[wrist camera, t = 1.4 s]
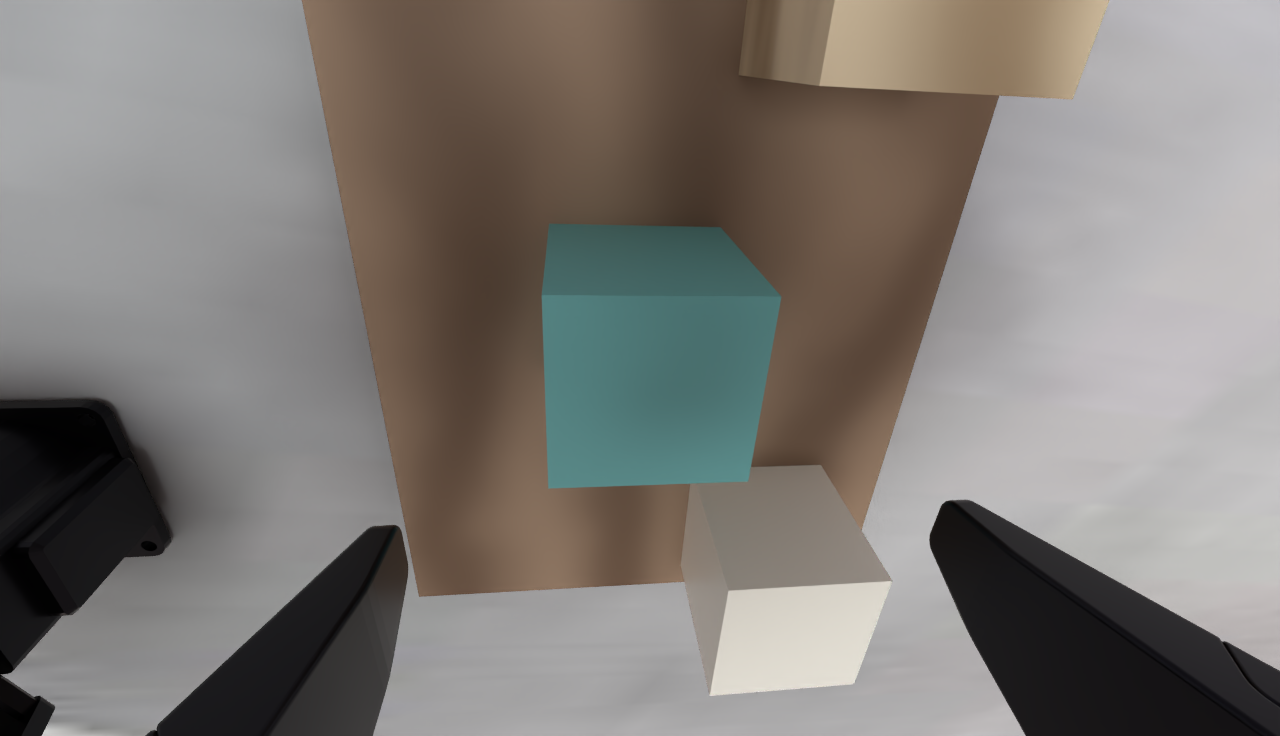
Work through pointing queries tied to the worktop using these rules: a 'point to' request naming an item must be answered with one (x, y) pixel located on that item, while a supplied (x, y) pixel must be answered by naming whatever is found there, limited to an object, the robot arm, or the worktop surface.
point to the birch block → (924, 44)
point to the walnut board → (615, 195)
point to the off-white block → (779, 582)
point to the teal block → (652, 355)
